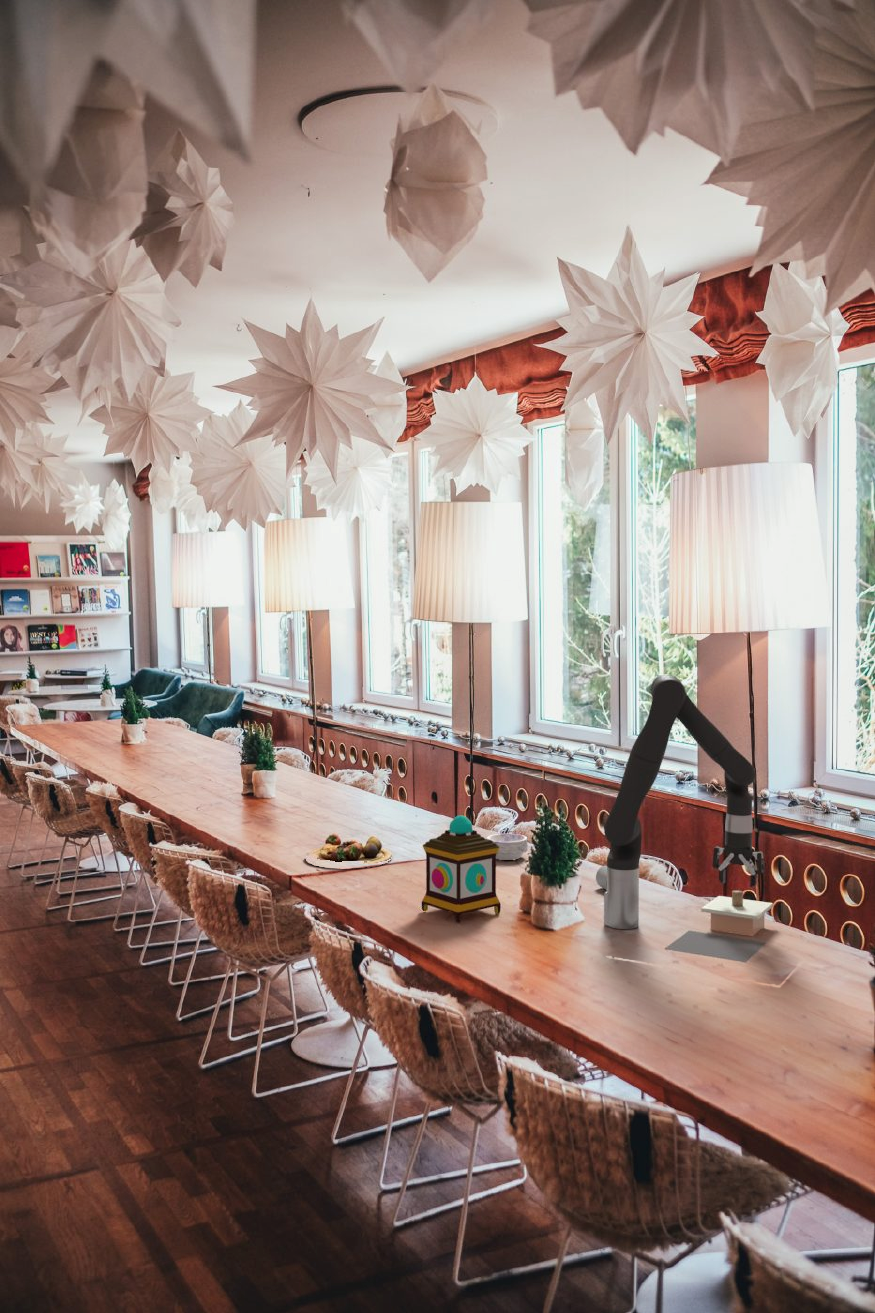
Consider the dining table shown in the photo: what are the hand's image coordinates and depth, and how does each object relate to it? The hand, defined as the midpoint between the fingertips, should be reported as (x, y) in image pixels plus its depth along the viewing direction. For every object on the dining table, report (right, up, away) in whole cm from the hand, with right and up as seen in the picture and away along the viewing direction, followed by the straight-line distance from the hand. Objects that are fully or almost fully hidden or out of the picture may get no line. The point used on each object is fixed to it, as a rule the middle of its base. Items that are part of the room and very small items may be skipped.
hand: (737, 885), depth 323 cm
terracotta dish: (0, -13, 0) cm, 13 cm away
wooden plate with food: (-119, -10, +91) cm, 150 cm away
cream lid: (0, -7, 0) cm, 7 cm away
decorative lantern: (-79, -12, +18) cm, 82 cm away
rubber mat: (-10, -14, -17) cm, 24 cm away
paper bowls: (-61, -9, +93) cm, 111 cm away
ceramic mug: (-28, -11, +46) cm, 55 cm away
